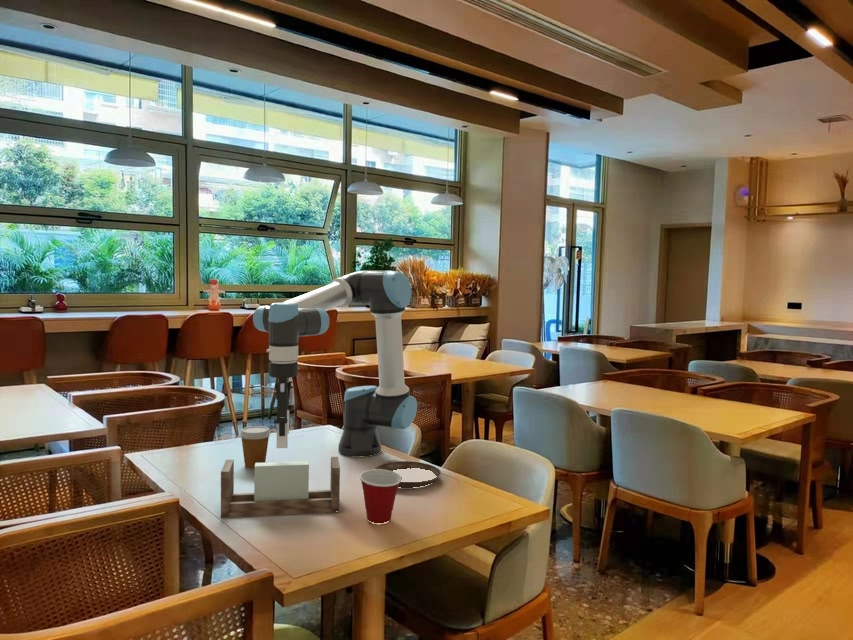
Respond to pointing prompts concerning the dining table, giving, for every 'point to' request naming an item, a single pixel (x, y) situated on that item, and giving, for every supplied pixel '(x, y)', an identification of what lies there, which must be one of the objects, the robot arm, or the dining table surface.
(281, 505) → the wooden rack
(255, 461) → the disposable coffee cup
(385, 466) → the plant saucer
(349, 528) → the dining table surface
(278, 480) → the white flat block
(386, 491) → the plastic cup
